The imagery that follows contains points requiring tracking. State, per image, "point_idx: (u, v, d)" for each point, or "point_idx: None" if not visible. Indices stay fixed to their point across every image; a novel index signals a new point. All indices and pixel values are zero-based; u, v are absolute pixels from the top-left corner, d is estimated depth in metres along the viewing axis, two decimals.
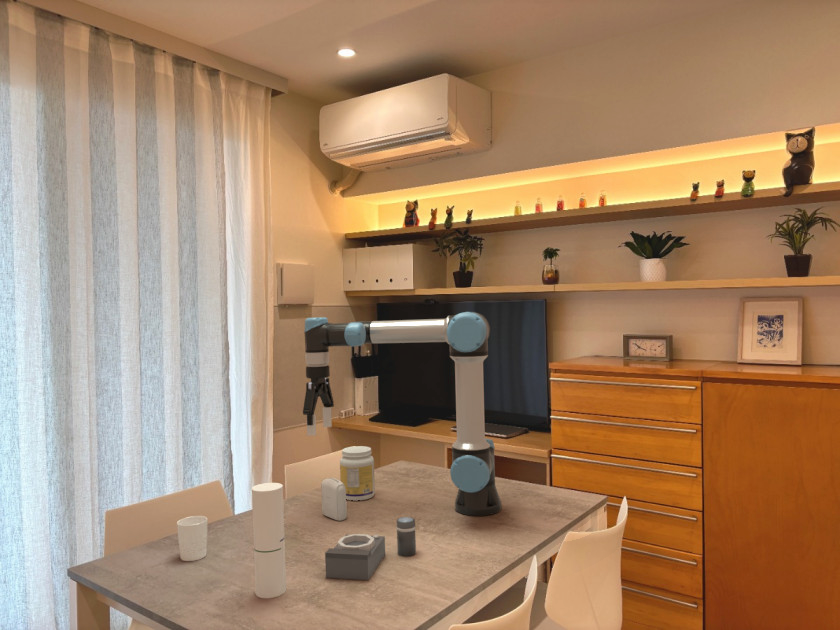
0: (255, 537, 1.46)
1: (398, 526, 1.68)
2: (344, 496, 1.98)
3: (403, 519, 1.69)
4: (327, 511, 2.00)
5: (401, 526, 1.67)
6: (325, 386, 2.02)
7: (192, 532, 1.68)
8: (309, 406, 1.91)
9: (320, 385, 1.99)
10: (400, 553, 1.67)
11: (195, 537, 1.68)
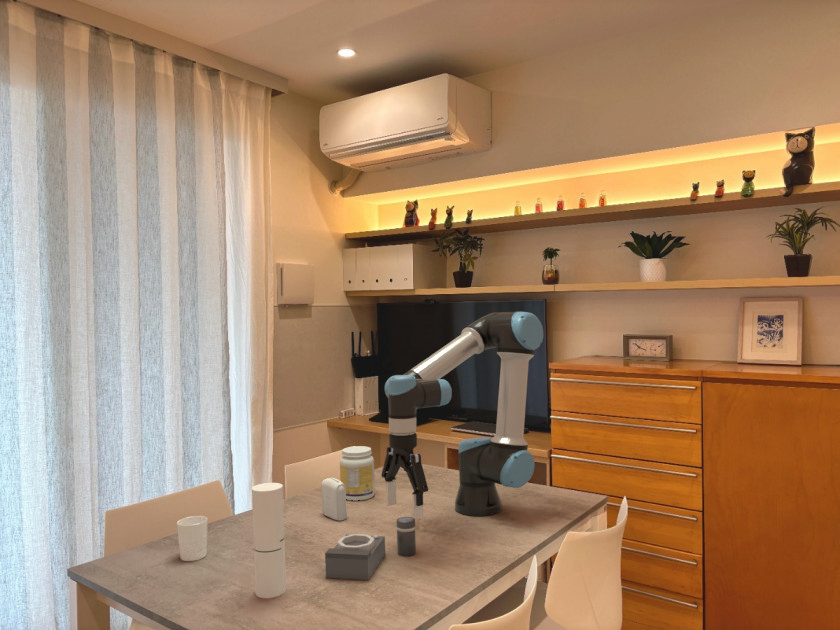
0: (255, 537, 1.46)
1: (398, 526, 1.68)
2: (344, 496, 1.98)
3: (403, 519, 1.69)
4: (327, 511, 2.00)
5: (401, 526, 1.67)
6: (399, 460, 1.67)
7: (192, 532, 1.68)
8: None
9: None
10: (400, 553, 1.67)
11: (195, 537, 1.68)
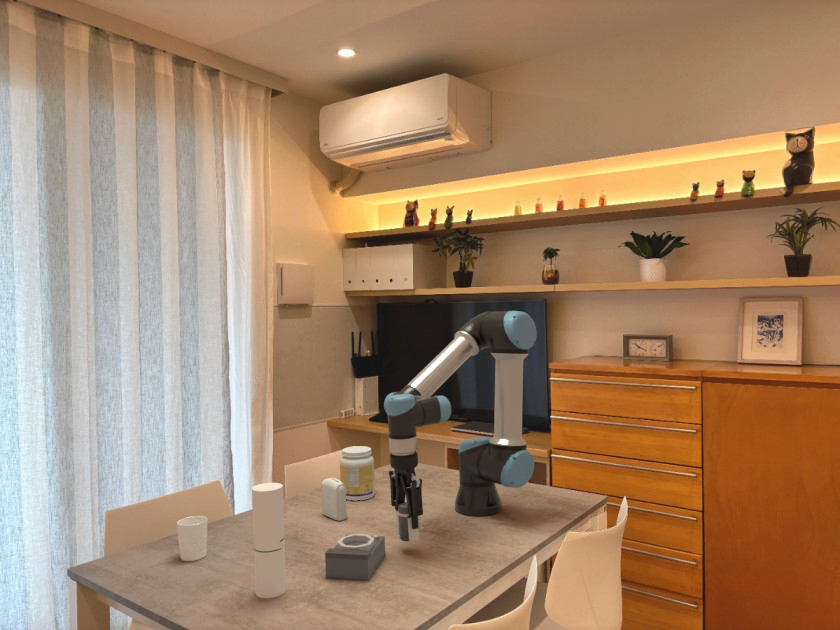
0: (255, 537, 1.46)
1: (400, 511, 1.68)
2: (344, 496, 1.98)
3: (404, 504, 1.70)
4: (327, 511, 2.00)
5: (403, 511, 1.67)
6: (400, 479, 1.67)
7: (192, 532, 1.68)
8: None
9: None
10: (402, 538, 1.68)
11: (195, 537, 1.68)
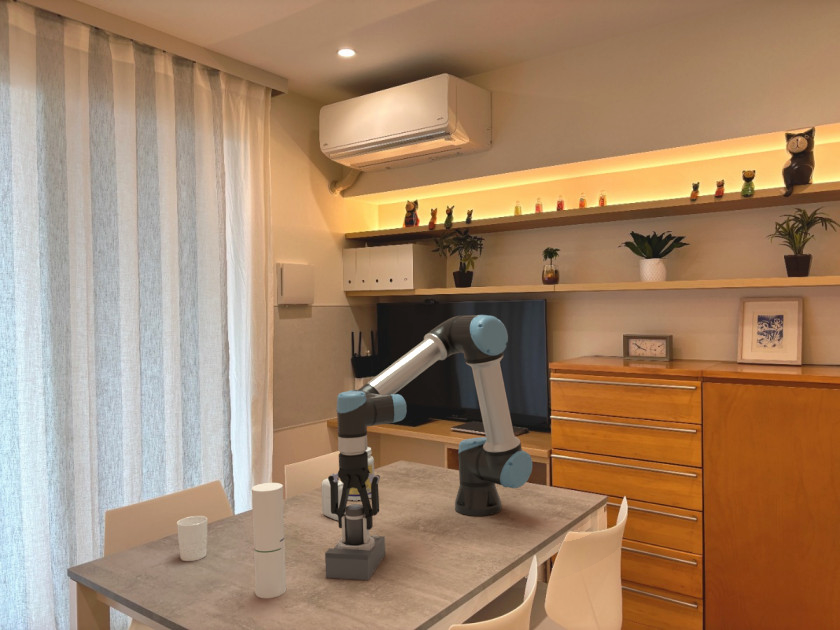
0: (255, 537, 1.46)
1: (352, 515, 1.59)
2: None
3: (352, 507, 1.62)
4: (327, 511, 2.00)
5: (357, 513, 1.60)
6: (355, 480, 1.59)
7: (192, 532, 1.68)
8: None
9: None
10: (355, 542, 1.59)
11: (195, 537, 1.68)
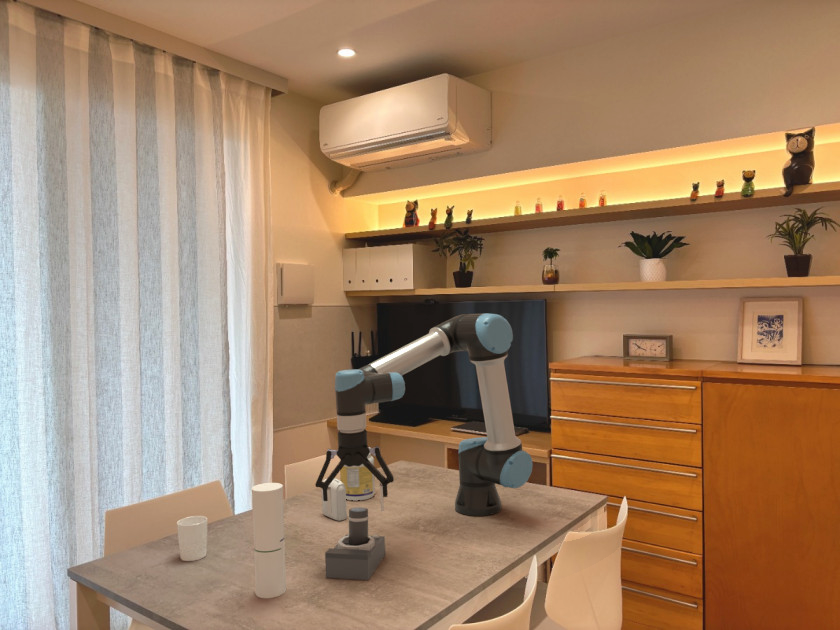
0: (255, 537, 1.46)
1: (358, 516, 1.60)
2: (344, 496, 1.98)
3: (356, 509, 1.62)
4: (327, 511, 2.00)
5: (362, 515, 1.61)
6: (358, 458, 1.60)
7: (192, 532, 1.68)
8: None
9: (345, 455, 1.60)
10: None
11: (195, 537, 1.68)
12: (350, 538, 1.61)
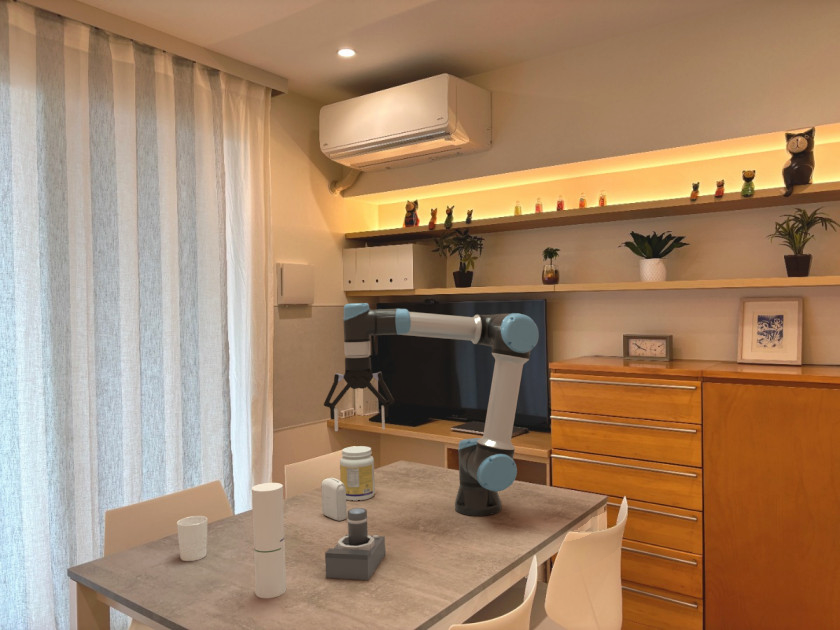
0: (255, 537, 1.46)
1: (357, 519, 1.60)
2: (344, 496, 1.98)
3: (355, 511, 1.62)
4: (327, 511, 2.00)
5: (361, 517, 1.60)
6: (362, 381, 1.79)
7: (192, 532, 1.68)
8: (326, 398, 1.80)
9: (351, 378, 1.79)
10: None
11: (195, 537, 1.68)
12: (350, 540, 1.61)
